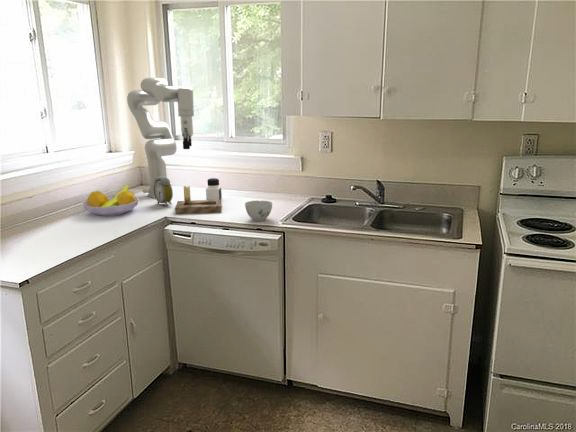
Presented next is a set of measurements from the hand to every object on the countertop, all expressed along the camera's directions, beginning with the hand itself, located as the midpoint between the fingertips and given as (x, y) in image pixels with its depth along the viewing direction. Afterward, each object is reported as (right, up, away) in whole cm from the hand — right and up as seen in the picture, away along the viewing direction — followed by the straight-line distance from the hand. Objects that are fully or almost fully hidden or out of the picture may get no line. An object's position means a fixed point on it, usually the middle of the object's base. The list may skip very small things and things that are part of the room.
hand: (187, 147), depth 243 cm
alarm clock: (-13, -29, +7) cm, 33 cm away
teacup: (+37, -36, -21) cm, 56 cm away
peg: (+1, -32, -4) cm, 32 cm away
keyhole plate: (+7, -32, -3) cm, 32 cm away
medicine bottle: (+11, -27, +16) cm, 33 cm away
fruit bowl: (-35, -33, -5) cm, 49 cm away
